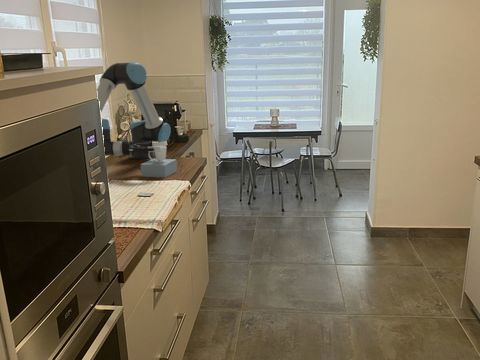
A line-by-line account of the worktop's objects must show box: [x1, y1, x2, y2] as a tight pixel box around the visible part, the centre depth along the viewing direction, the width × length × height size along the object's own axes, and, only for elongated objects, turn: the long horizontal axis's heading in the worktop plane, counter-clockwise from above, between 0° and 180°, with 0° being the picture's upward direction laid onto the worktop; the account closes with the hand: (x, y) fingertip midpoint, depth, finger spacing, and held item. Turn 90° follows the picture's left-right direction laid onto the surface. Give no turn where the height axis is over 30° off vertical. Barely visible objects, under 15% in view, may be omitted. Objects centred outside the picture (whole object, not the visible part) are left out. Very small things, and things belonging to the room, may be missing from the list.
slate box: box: [140, 158, 178, 178], centre depth 245 cm, size 15×14×7 cm
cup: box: [148, 145, 167, 163], centre depth 244 cm, size 7×10×8 cm
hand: (162, 146), depth 243 cm, fingers open, 13 cm apart
